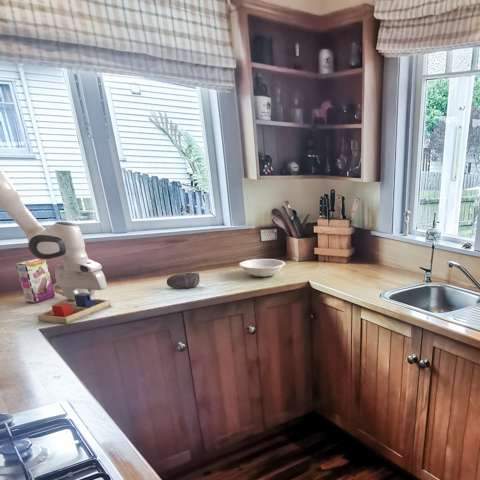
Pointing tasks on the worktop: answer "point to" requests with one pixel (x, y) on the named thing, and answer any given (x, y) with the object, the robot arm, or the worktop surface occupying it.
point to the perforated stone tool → (183, 280)
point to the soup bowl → (262, 267)
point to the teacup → (68, 292)
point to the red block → (62, 309)
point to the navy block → (83, 300)
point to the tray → (74, 312)
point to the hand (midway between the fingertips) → (85, 299)
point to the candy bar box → (35, 280)
